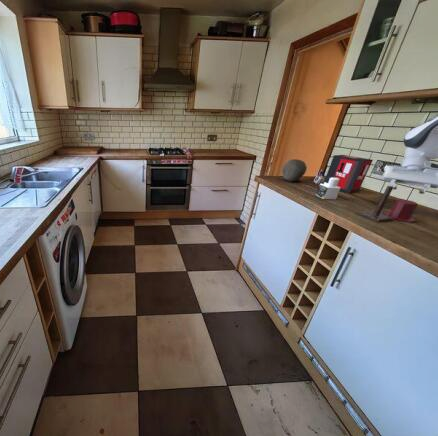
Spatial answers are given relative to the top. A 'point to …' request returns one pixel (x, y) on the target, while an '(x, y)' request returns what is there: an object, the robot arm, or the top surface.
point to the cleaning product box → (349, 171)
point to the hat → (402, 210)
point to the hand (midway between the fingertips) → (407, 190)
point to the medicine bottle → (328, 188)
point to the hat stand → (379, 208)
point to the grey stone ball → (294, 170)
